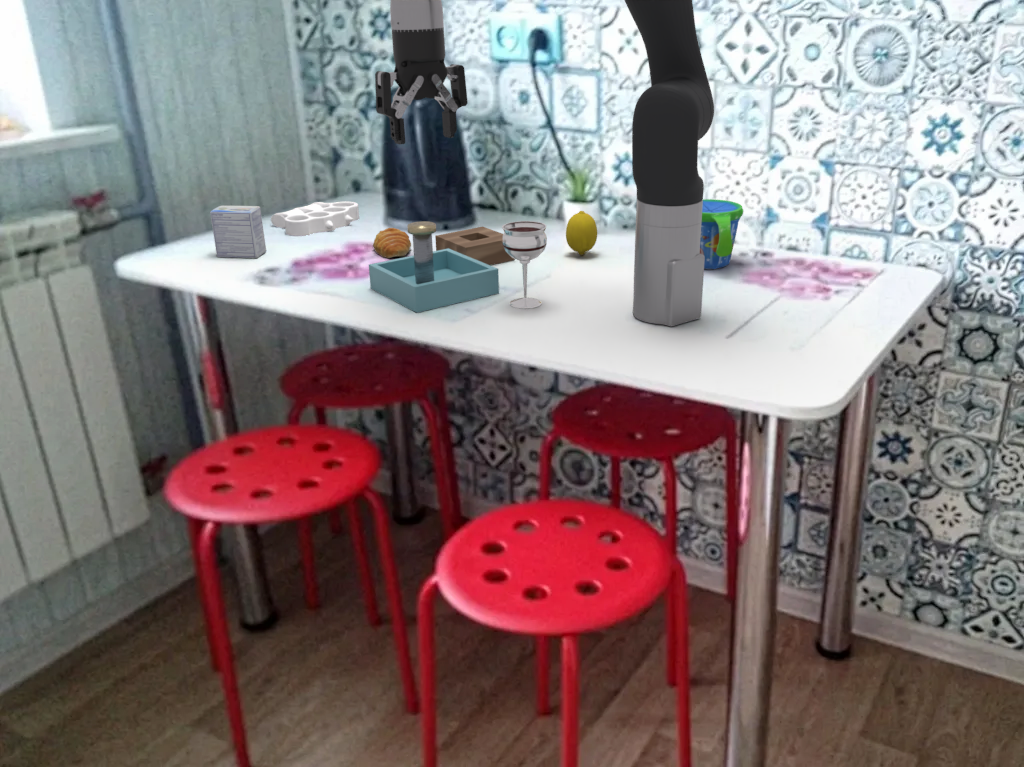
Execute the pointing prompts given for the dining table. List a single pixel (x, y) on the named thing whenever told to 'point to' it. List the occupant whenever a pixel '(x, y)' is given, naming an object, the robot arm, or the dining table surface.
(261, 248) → the medicine box
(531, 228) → the wineglass
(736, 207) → the snack cup
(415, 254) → the lock pin
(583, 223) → the lemon
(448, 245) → the wooden square hole block
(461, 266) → the pin tray
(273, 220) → the knuckle duster
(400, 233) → the pastry
